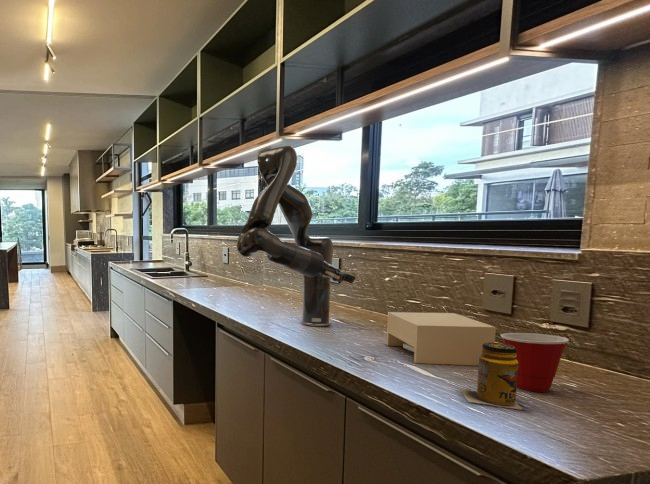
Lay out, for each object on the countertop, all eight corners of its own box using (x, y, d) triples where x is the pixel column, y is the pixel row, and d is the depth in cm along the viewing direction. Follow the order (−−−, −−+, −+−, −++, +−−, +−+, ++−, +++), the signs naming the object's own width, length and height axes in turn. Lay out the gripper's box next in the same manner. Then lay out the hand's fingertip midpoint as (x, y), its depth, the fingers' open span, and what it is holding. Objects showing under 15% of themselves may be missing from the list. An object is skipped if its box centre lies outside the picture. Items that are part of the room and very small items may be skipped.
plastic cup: (515, 376, 100) (518, 327, 99) (576, 392, 90) (581, 338, 88) (485, 382, 96) (488, 332, 95) (545, 399, 86) (550, 344, 85)
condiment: (523, 410, 82) (527, 351, 80) (468, 402, 86) (472, 346, 85) (510, 397, 88) (514, 342, 87) (459, 390, 92) (463, 338, 91)
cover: (386, 344, 128) (387, 312, 127) (452, 346, 125) (454, 313, 124) (415, 363, 111) (417, 325, 110) (493, 366, 107) (495, 327, 106)
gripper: (318, 256, 115) (372, 276, 117) (299, 243, 128) (347, 261, 130) (305, 279, 118) (357, 298, 120) (287, 264, 130) (335, 282, 132)
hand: (352, 279), depth 125 cm, fingers closed
